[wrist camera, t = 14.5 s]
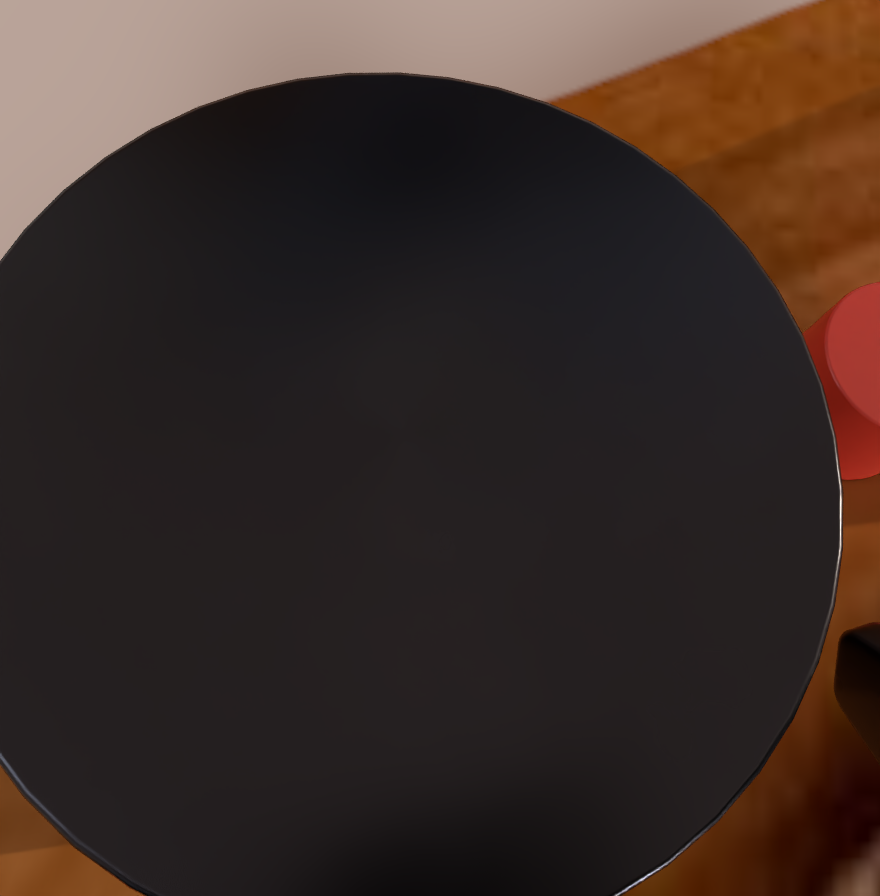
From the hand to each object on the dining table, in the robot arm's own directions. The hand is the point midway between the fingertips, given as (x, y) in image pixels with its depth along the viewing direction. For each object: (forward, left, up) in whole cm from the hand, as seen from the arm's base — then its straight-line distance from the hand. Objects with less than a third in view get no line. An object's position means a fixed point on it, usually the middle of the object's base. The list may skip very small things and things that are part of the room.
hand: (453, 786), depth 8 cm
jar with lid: (+2, -1, -10) cm, 11 cm away
